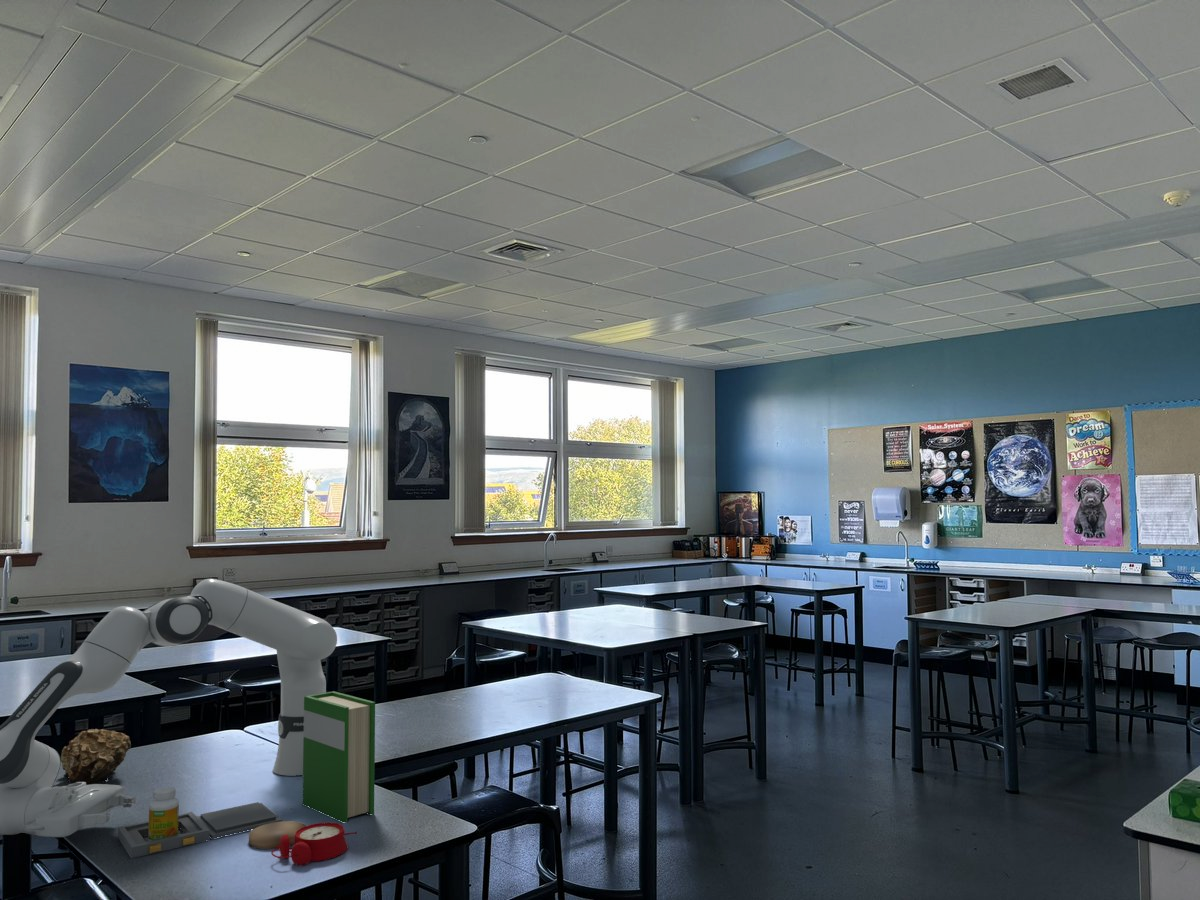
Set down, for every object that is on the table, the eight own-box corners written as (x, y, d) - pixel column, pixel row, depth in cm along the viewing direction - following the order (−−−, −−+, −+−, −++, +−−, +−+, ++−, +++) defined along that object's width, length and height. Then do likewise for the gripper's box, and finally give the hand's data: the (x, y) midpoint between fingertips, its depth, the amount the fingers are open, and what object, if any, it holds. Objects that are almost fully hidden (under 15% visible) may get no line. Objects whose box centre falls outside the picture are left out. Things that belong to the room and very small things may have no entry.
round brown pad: (295, 824, 181) (295, 817, 181) (314, 839, 173) (315, 832, 173) (241, 837, 174) (241, 829, 175) (258, 853, 166) (258, 845, 166)
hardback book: (374, 814, 187) (375, 702, 189) (343, 823, 182) (344, 707, 184) (332, 796, 199) (333, 691, 201) (302, 804, 194) (304, 696, 196)
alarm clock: (363, 830, 168) (294, 833, 158) (356, 864, 167) (286, 870, 156) (334, 818, 175) (266, 820, 164) (327, 851, 174) (258, 856, 163)
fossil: (41, 765, 217) (74, 708, 221) (97, 781, 225) (128, 725, 230) (57, 794, 199) (93, 730, 204) (117, 809, 207) (151, 748, 212)
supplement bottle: (148, 845, 170) (149, 795, 171) (148, 837, 175) (149, 788, 176) (178, 840, 173) (179, 791, 174) (177, 832, 178) (178, 784, 178)
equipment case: (261, 806, 193) (261, 797, 193) (283, 824, 182) (283, 814, 182) (117, 837, 175) (118, 827, 175) (132, 859, 164) (132, 848, 164)
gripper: (18, 812, 165) (90, 811, 165) (83, 779, 185) (147, 778, 185) (17, 846, 164) (89, 845, 164) (82, 809, 185) (147, 808, 184)
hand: (121, 809), depth 175 cm, fingers open, 8 cm apart
